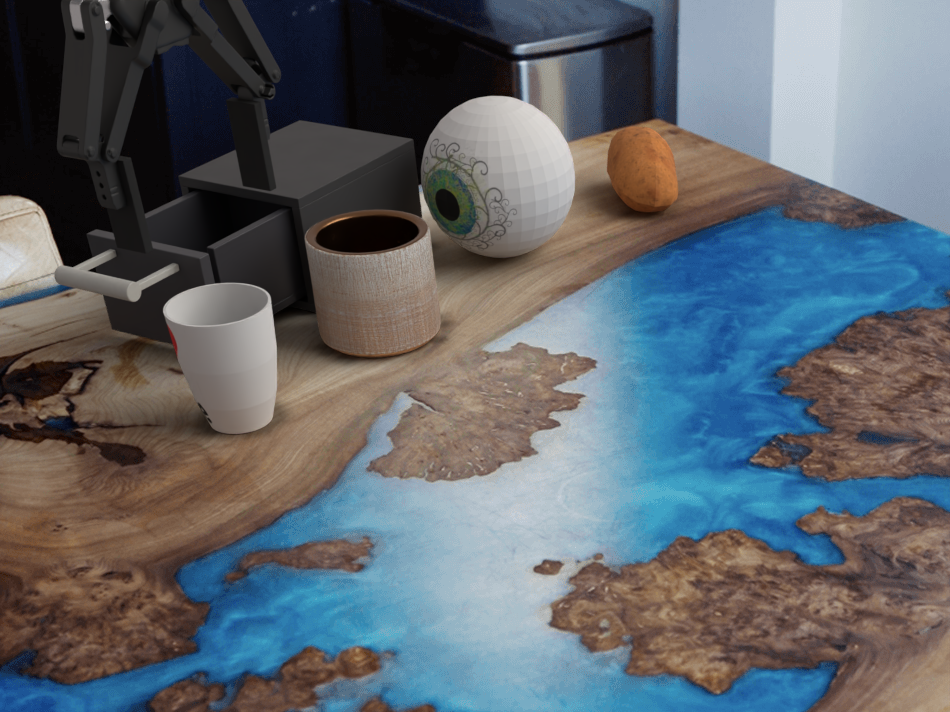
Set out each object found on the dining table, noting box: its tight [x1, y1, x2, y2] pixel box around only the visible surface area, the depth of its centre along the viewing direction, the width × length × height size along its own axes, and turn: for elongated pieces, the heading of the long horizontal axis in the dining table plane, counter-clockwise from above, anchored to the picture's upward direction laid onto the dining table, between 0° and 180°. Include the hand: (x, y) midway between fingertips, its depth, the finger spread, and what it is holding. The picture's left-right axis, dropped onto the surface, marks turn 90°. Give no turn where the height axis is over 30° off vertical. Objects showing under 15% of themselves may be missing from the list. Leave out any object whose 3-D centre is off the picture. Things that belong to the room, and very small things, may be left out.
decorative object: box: [420, 95, 576, 259], centre depth 138 cm, size 15×15×15 cm
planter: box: [305, 209, 442, 359], centre depth 124 cm, size 11×11×10 cm
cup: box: [163, 283, 278, 435], centre depth 112 cm, size 8×8×10 cm
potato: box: [606, 125, 679, 213], centre depth 151 cm, size 7×13×7 cm, turn 10°
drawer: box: [53, 189, 307, 346], centre depth 125 cm, size 23×13×9 cm, turn 153°
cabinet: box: [178, 119, 423, 314], centre depth 137 cm, size 18×14×11 cm
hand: (200, 217), depth 105 cm, fingers open, 13 cm apart
